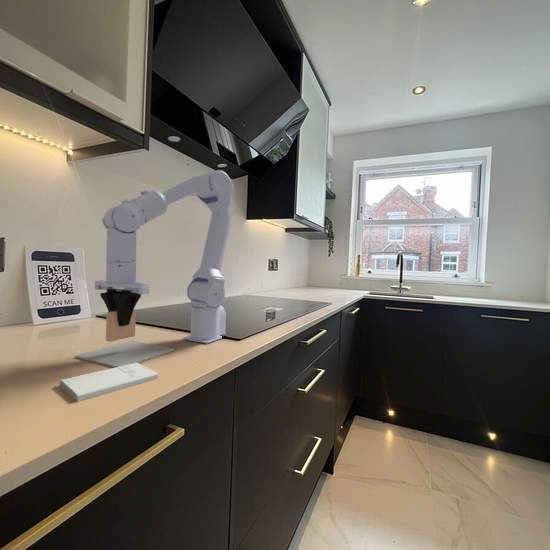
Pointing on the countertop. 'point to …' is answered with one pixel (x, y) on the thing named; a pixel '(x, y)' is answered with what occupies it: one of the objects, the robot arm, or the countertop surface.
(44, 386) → the countertop surface
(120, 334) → the tile
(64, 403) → the countertop surface
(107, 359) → the mat
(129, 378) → the external hard drive
